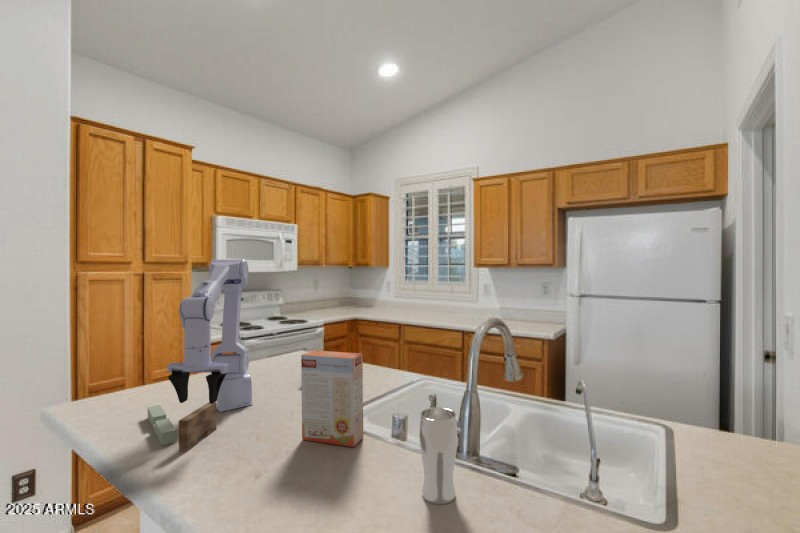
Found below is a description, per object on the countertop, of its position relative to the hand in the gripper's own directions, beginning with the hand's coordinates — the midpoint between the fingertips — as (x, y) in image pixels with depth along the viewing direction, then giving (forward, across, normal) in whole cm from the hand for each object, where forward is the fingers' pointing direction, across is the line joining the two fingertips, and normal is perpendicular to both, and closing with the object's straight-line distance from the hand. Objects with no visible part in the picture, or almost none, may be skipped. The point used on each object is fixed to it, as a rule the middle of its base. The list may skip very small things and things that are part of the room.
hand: (198, 402), depth 97 cm
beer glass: (+9, +58, -18) cm, 62 cm away
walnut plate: (+9, 0, 0) cm, 9 cm away
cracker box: (+9, +32, +3) cm, 34 cm away
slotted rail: (+9, -13, +5) cm, 17 cm away
